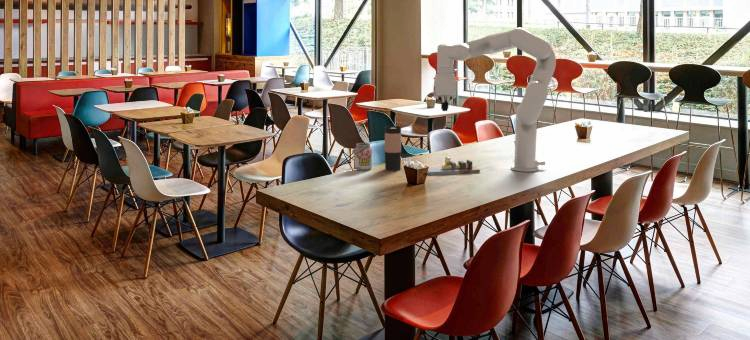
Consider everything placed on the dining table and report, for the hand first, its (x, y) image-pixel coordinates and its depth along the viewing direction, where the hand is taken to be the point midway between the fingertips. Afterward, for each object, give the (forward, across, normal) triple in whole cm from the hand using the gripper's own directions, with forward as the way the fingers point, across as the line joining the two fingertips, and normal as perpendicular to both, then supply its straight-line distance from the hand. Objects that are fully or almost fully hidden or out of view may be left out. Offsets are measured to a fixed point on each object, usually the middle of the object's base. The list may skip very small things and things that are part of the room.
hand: (444, 110), depth 320 cm
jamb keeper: (+27, -7, +12) cm, 30 cm away
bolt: (+25, -2, +12) cm, 28 cm away
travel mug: (+27, +25, 0) cm, 37 cm away
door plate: (+27, +5, +12) cm, 30 cm away
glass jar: (+27, +39, -4) cm, 48 cm away
